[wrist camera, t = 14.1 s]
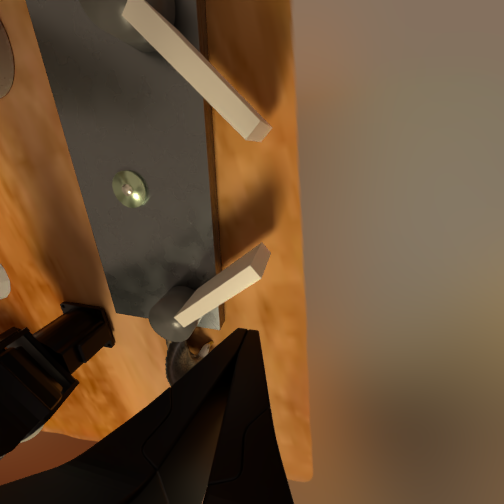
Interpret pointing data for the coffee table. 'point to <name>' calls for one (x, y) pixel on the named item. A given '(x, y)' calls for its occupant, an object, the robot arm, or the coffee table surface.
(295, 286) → the coffee table surface
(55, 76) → the plate
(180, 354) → the eagle figurine
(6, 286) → the french press
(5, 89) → the thermos bottle
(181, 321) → the knob
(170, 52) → the knob
